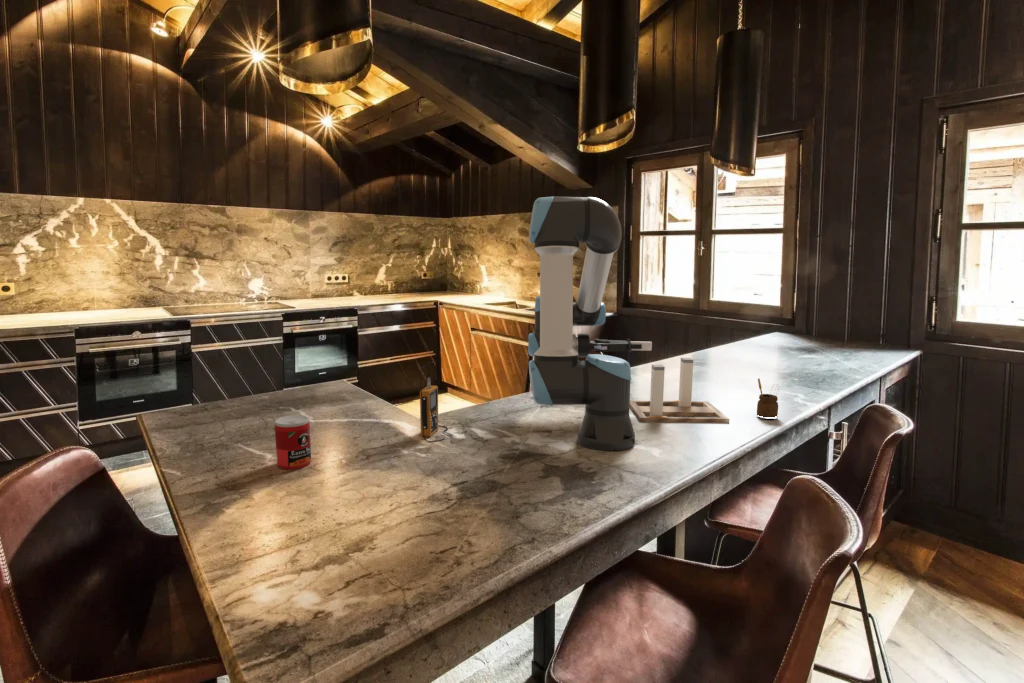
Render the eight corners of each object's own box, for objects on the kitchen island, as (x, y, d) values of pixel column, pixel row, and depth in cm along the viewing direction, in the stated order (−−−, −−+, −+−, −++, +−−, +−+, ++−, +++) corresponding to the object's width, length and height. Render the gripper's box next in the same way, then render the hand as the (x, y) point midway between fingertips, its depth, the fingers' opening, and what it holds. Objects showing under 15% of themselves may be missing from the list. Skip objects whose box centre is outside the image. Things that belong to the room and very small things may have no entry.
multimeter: (451, 444, 152) (450, 370, 149) (415, 441, 154) (414, 368, 151) (466, 427, 166) (466, 360, 163) (433, 425, 168) (432, 358, 165)
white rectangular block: (652, 419, 171) (654, 366, 168) (649, 416, 174) (651, 364, 172) (662, 419, 171) (664, 367, 168) (659, 416, 174) (661, 364, 172)
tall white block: (681, 409, 182) (683, 359, 180) (678, 406, 186) (680, 357, 183) (690, 409, 182) (693, 359, 180) (687, 406, 186) (690, 357, 183)
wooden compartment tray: (639, 425, 169) (640, 416, 168) (627, 407, 189) (628, 399, 188) (728, 426, 168) (729, 417, 168) (707, 408, 188) (707, 400, 188)
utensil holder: (774, 421, 174) (777, 383, 172) (753, 418, 177) (755, 380, 176) (779, 417, 178) (782, 379, 176) (758, 413, 182) (760, 376, 180)
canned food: (291, 472, 132) (288, 426, 130) (269, 465, 136) (267, 420, 134) (318, 462, 138) (316, 418, 137) (297, 456, 143) (294, 413, 141)
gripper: (574, 354, 189) (646, 354, 188) (578, 360, 176) (655, 360, 176) (575, 331, 188) (647, 332, 188) (578, 335, 175) (656, 336, 175)
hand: (651, 346), depth 182 cm, fingers closed
